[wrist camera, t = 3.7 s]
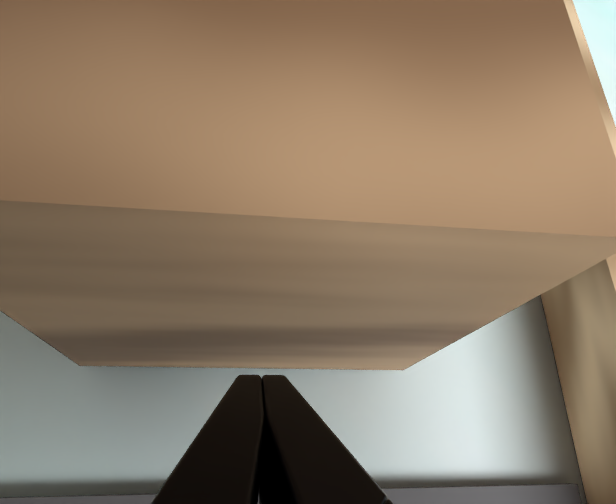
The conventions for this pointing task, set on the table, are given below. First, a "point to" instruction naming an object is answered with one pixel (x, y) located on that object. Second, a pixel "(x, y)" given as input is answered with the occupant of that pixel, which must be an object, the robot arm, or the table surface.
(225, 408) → the robot arm
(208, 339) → the wooden block
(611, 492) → the channel
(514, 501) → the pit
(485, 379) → the table surface
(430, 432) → the table surface
